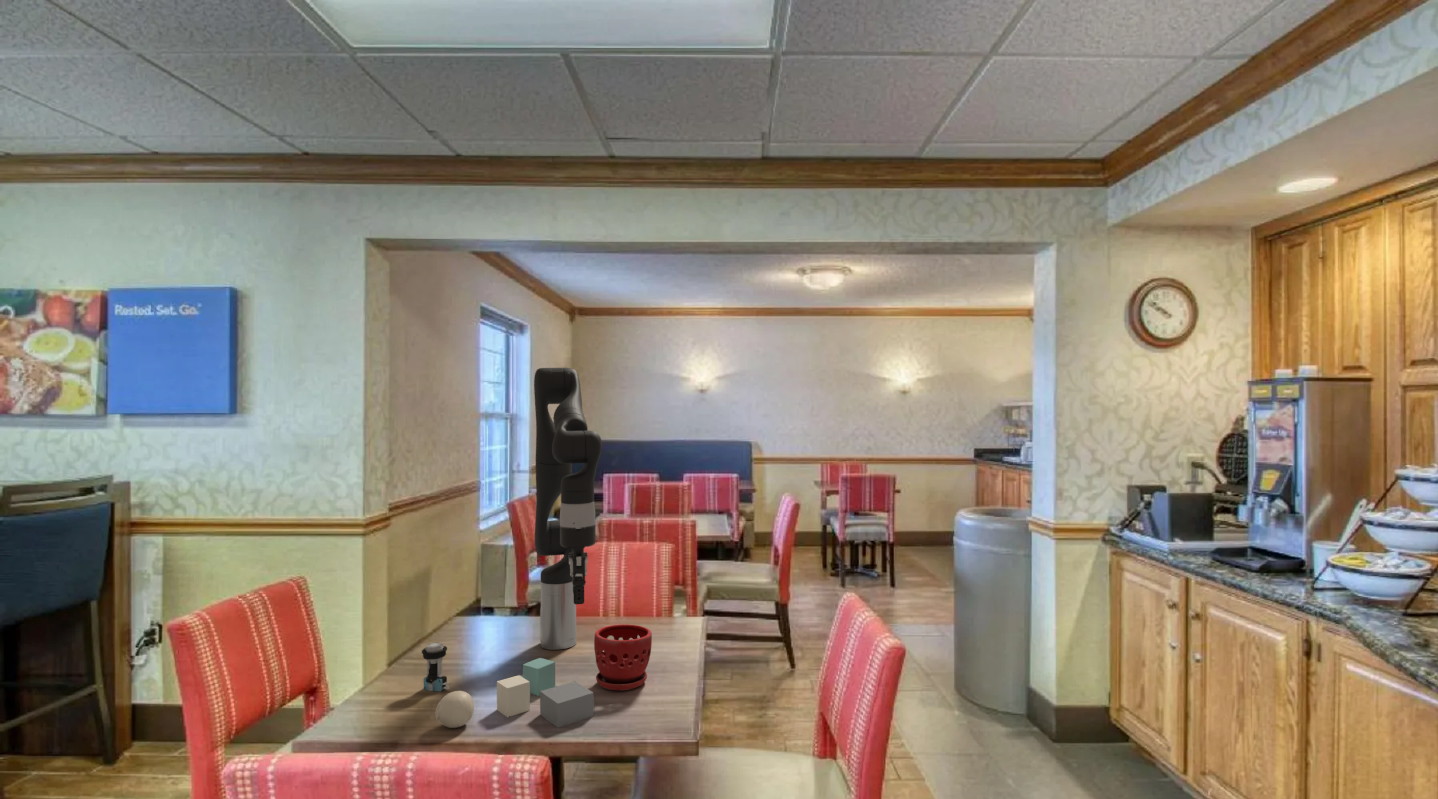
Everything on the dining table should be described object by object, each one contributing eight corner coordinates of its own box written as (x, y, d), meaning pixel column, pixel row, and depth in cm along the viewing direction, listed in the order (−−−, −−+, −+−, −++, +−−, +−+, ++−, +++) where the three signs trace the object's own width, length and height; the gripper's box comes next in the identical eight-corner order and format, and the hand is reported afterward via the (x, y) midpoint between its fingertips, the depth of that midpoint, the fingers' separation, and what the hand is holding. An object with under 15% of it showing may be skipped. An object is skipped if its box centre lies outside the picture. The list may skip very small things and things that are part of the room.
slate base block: (540, 715, 145) (540, 691, 145) (574, 704, 150) (574, 681, 150) (558, 728, 139) (557, 703, 139) (593, 717, 144) (593, 692, 144)
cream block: (497, 709, 147) (496, 681, 147) (519, 703, 151) (519, 675, 151) (507, 717, 144) (507, 688, 144) (529, 710, 147) (529, 681, 147)
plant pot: (627, 699, 152) (627, 644, 152) (582, 687, 159) (582, 634, 159) (663, 679, 163) (662, 627, 163) (619, 668, 170) (619, 619, 170)
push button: (457, 686, 160) (457, 642, 160) (441, 695, 155) (441, 650, 155) (432, 683, 162) (432, 640, 162) (416, 692, 157) (416, 647, 157)
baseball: (438, 720, 142) (437, 687, 142) (475, 716, 144) (475, 684, 144) (432, 735, 136) (432, 701, 136) (472, 731, 137) (471, 697, 137)
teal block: (523, 691, 157) (522, 664, 157) (540, 683, 161) (539, 657, 161) (538, 696, 154) (538, 668, 154) (555, 688, 158) (555, 661, 158)
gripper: (560, 518, 157) (560, 591, 157) (559, 529, 143) (560, 609, 143) (593, 517, 158) (594, 588, 158) (597, 527, 145) (597, 606, 144)
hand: (578, 598), depth 150 cm, fingers open, 8 cm apart
